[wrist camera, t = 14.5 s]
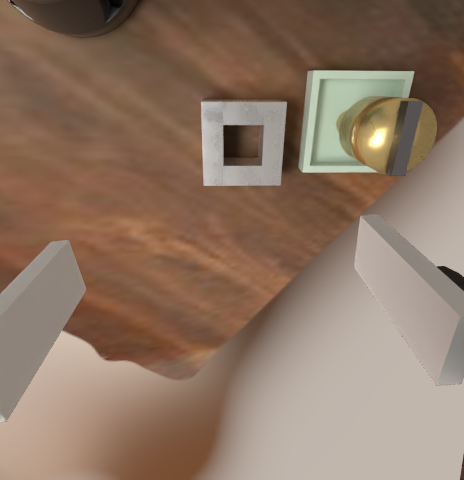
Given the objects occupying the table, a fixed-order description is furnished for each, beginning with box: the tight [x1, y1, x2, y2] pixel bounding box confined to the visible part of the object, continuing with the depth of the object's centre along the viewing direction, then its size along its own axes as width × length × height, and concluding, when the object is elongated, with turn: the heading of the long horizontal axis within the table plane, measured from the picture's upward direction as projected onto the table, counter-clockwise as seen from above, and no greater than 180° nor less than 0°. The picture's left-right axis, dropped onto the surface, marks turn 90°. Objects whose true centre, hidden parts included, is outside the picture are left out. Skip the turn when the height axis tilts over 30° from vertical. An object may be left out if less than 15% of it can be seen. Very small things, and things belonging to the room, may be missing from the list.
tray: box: [298, 70, 415, 172], centre depth 38 cm, size 11×11×2 cm
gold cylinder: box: [336, 96, 437, 176], centre depth 32 cm, size 6×6×13 cm
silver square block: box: [201, 99, 287, 186], centre depth 37 cm, size 9×9×4 cm
